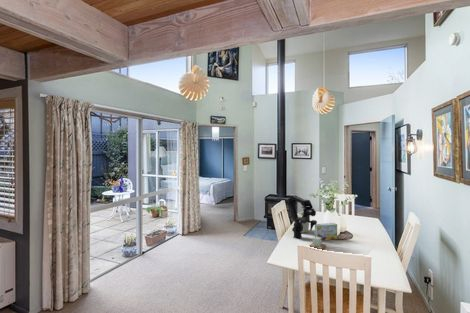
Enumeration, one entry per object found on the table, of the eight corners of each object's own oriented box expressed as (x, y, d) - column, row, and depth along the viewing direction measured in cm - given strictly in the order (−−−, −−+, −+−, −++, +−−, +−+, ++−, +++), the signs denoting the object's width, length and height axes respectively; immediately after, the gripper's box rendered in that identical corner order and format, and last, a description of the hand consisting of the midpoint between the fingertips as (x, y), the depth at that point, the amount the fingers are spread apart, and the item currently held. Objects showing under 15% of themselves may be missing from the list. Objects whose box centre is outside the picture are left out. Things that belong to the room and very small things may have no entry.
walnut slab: (309, 248, 223) (309, 245, 223) (314, 245, 232) (314, 241, 232) (321, 251, 216) (321, 248, 216) (326, 247, 225) (326, 244, 225)
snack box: (317, 241, 240) (317, 225, 239) (314, 239, 245) (314, 223, 245) (337, 239, 244) (337, 223, 243) (334, 237, 249) (334, 222, 249)
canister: (307, 235, 257) (307, 214, 256) (290, 232, 267) (290, 212, 266) (312, 230, 272) (312, 210, 271) (296, 227, 282) (296, 208, 281)
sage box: (313, 245, 224) (313, 237, 223) (315, 243, 228) (315, 236, 227) (319, 246, 220) (319, 239, 220) (321, 244, 224) (321, 237, 224)
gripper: (293, 213, 237) (293, 230, 237) (312, 217, 224) (312, 234, 225) (298, 211, 245) (298, 227, 246) (317, 214, 233) (317, 231, 234)
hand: (306, 229), depth 237 cm, fingers open, 9 cm apart
